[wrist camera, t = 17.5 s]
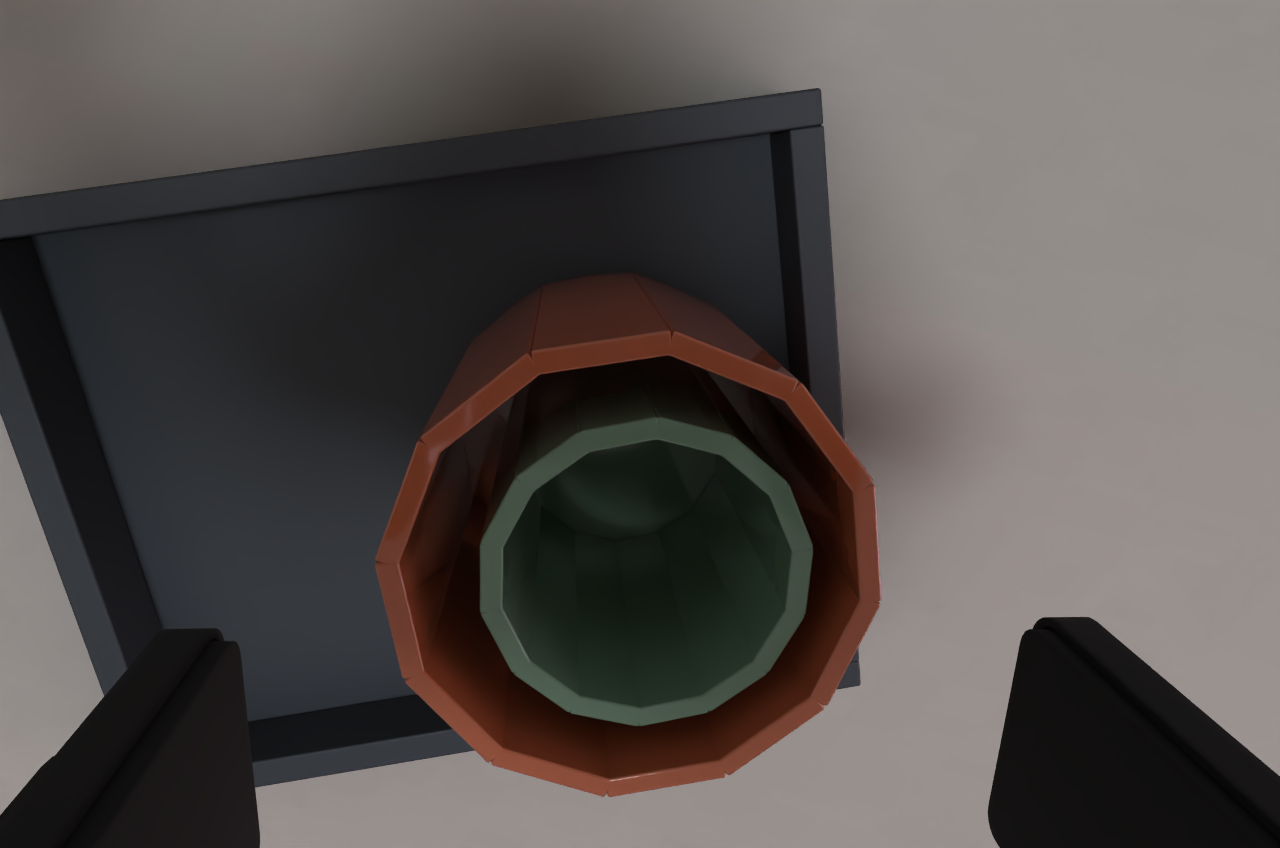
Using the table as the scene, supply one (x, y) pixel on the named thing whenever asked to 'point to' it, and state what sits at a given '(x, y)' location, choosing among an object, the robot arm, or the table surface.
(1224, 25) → the table surface
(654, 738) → the terracotta cup
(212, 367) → the tray
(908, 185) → the table surface
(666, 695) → the sage cup
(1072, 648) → the robot arm
